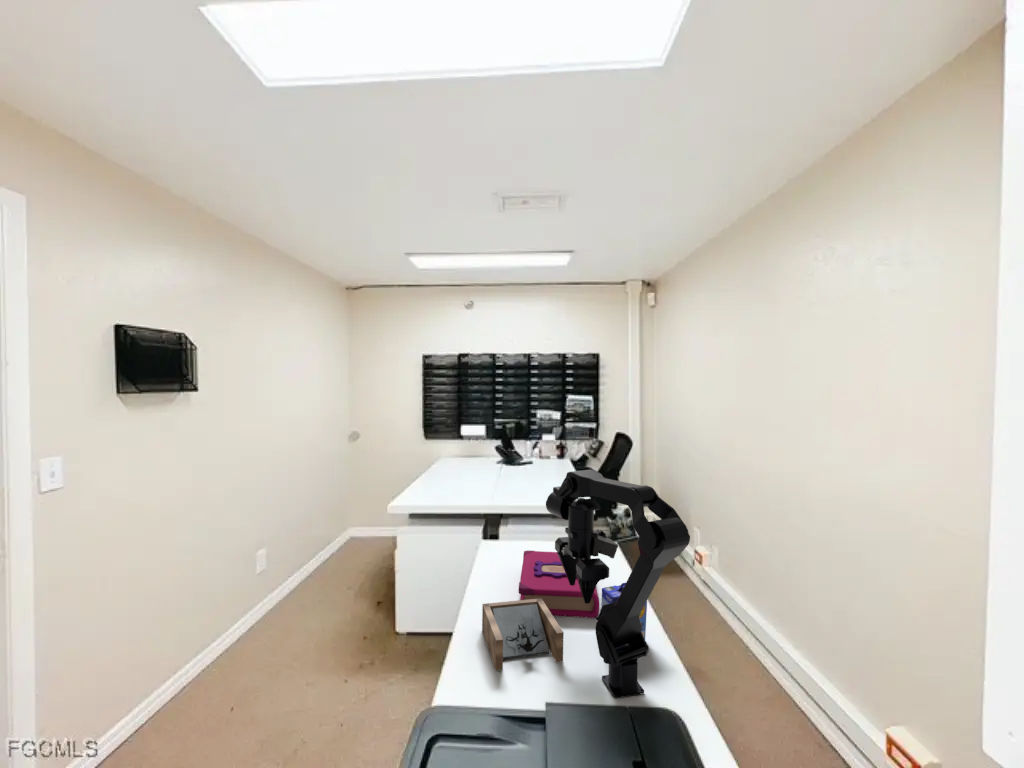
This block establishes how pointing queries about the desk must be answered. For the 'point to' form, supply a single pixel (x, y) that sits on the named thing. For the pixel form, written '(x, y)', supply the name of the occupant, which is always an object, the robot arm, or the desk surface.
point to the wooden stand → (495, 638)
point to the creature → (528, 645)
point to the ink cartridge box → (612, 596)
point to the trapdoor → (509, 627)
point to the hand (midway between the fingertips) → (579, 593)
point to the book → (554, 586)
